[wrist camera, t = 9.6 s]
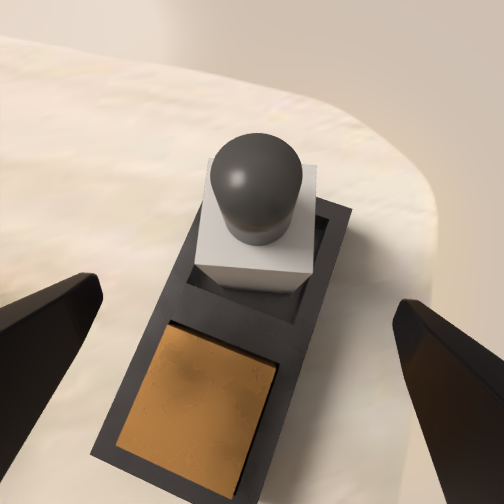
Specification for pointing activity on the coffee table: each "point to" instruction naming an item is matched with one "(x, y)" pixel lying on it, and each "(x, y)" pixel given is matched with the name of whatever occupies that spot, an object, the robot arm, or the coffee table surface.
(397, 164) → the coffee table surface
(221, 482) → the two-compartment sponge tray
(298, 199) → the white soap bottle
